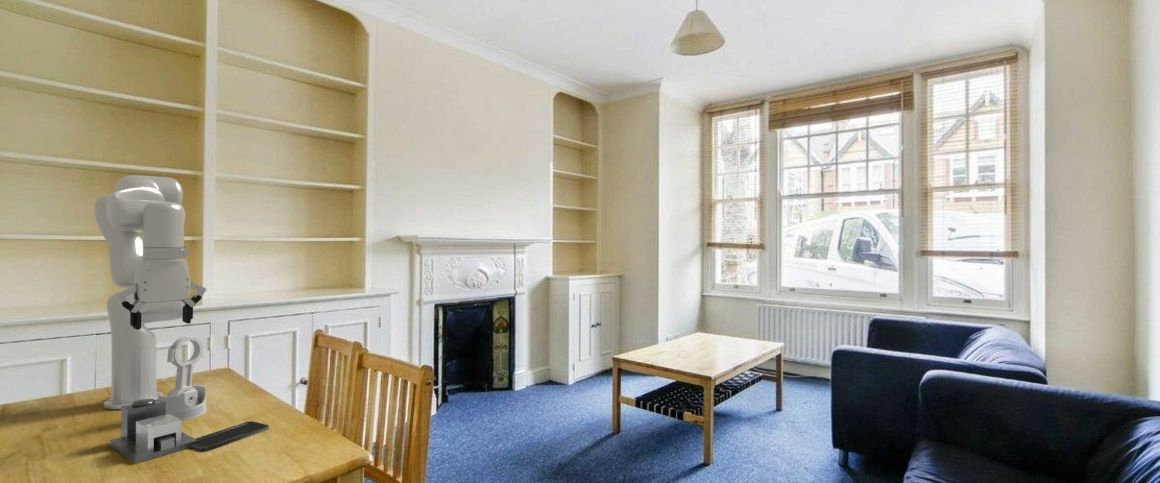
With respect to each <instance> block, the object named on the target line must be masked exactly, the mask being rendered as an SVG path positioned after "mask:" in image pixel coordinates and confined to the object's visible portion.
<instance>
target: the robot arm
mask: <svg viewBox="0 0 1160 483" xmlns="http://www.w3.org/2000/svg"><path fill="white" fill-rule="evenodd" d="M183 197H184V191H183V187H182V184H181V183H180V182H179V181H178V180H177V179H175V178H173V177H169V176H156V175H155V176H153V175H139V174H134V175H133V174H132V175H131V174H130V175H126V176H123V177H121V178H119V179H118V180H117V181H116V182H115V184H114V192H112V193H111V194H106V195H105V194H104V195H102V196H100V197H98V198H97V199H96V201H95V203H94V216H95V217H94V218H95V221H96V224H97V226H98V229H99V231H100V233H101V235H102V236H103V238H104V240H105V241H106V244H107V248H108V256H109V257H108V258H109V268H110V277H111V280H112V283H113V284H114V285H115V286H116V287H118V288H122V289H124V290H122V291H121V290H120V291H118V292H115V293H112V295H110V296H109V298H108V299H107V302H106V311H107V315H108V319H109V326H110V333H111V334H110V337H111V397H110V398H108V399H107V400H105V401H104V402H103V407H104V408H105V409H109V410H121V407H122V406H127V405H132V403H133V402H135V401H139V400H143V399H158V394H160V395H161V396H164V392H161V391H157V337H156V335H155V334H154V332H153V331H152V330H150V329H149V328H148V327H146V325H145V324H149V323H155V322H165V321H174V320H175V321H176V320H182V322H183V323H184V324H187V325H189V324H191V322H192V320H193V319H194V307H195V306H196V305H197V303H199V302H200V301H201V300H202V298H203V297H204V295H205V292H206V291H207V288H206V287H205V286H201V285H198V284H196V283H193V282H191V277H190V276H191V275H190V271H189V270H190V269H189V265H188V261H187V259H185V256H187V255H191V249H189V248H185V246H184V245H185V244H184V240H185V238H184V236H185V223H186V212H185V208H184V206H183V205H182V202H183ZM140 232H142V234H141V233H140ZM191 289H192V290H195V291H196V292H195V295H193V296H191V291H192V290H191ZM190 297H191V298H190Z"/></svg>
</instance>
